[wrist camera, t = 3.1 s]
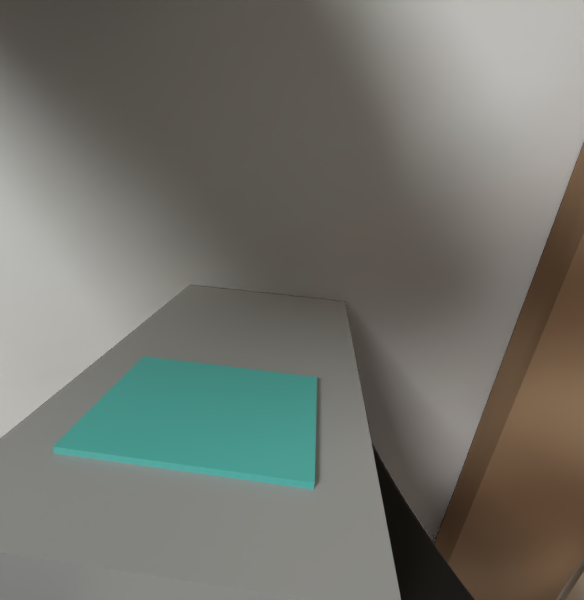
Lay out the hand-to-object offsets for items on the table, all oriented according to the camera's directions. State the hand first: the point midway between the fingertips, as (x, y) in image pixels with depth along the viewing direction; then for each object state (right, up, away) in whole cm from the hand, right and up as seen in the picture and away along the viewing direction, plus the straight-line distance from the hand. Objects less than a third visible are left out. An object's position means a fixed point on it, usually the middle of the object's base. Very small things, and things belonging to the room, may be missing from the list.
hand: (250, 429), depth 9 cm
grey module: (0, +1, +2) cm, 2 cm away
